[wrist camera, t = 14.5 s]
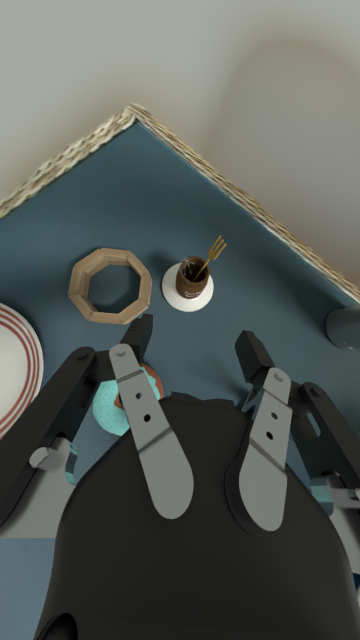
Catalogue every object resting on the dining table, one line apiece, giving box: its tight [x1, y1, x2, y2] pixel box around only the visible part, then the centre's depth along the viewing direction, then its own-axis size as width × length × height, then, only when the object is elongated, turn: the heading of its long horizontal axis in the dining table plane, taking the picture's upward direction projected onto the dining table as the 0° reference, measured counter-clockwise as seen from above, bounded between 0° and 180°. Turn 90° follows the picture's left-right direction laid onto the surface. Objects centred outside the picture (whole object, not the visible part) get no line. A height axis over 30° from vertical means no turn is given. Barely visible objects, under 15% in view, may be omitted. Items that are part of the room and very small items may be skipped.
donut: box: [93, 363, 163, 436], centre depth 24 cm, size 12×12×4 cm
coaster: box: [162, 263, 213, 312], centre depth 29 cm, size 11×11×1 cm
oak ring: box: [68, 248, 152, 325], centre depth 27 cm, size 14×14×3 cm
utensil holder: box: [175, 236, 226, 299], centre depth 23 cm, size 6×6×12 cm
